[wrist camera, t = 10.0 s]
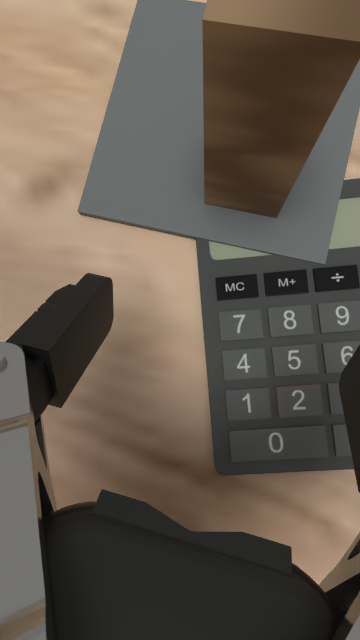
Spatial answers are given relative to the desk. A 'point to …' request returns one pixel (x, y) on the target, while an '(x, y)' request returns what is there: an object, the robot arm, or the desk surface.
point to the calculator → (281, 350)
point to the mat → (200, 148)
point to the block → (270, 93)
